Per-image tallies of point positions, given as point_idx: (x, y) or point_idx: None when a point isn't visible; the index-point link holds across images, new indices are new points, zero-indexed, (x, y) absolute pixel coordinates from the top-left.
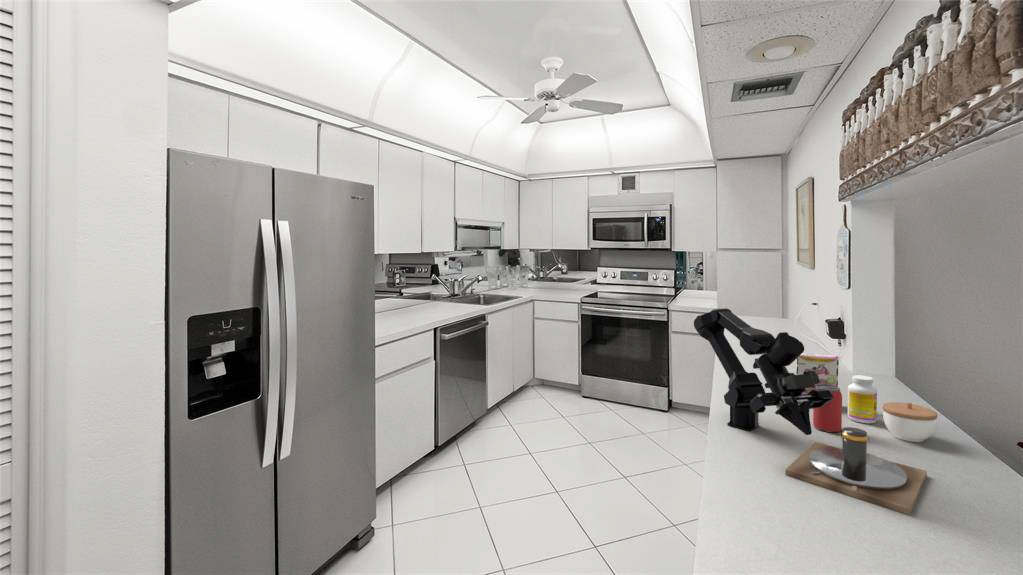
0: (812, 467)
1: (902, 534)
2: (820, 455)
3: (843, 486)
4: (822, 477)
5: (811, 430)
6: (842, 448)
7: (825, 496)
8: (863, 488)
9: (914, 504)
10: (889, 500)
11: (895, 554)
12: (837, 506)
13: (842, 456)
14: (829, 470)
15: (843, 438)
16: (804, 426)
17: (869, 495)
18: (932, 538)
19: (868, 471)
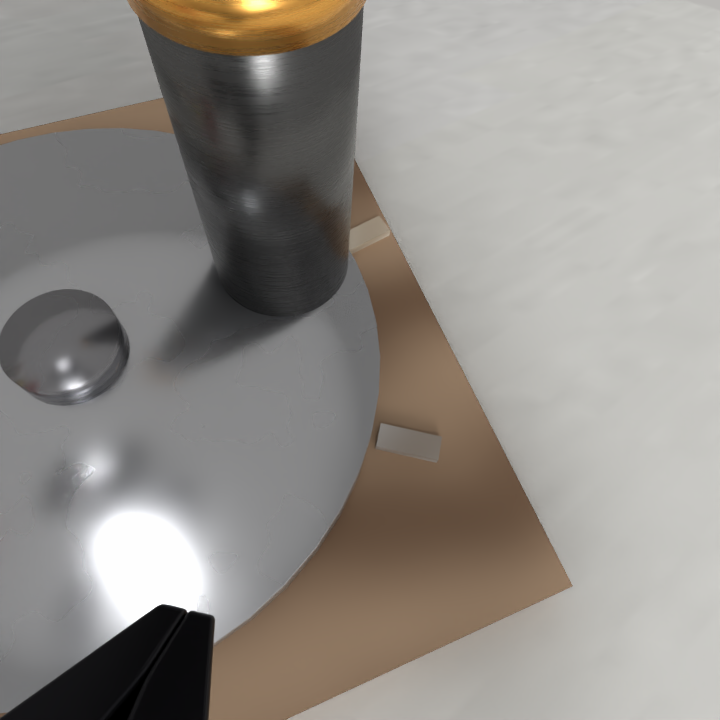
0: (333, 526)
1: (477, 50)
2: (136, 584)
3: (392, 276)
4: (409, 393)
5: (132, 623)
6: (324, 158)
7: (526, 305)
8: None
9: None
10: None
11: (612, 16)
12: (549, 230)
13: (329, 210)
14: (350, 368)
15: (341, 38)
16: (206, 697)
17: (353, 180)
18: (399, 10)
19: (114, 262)
